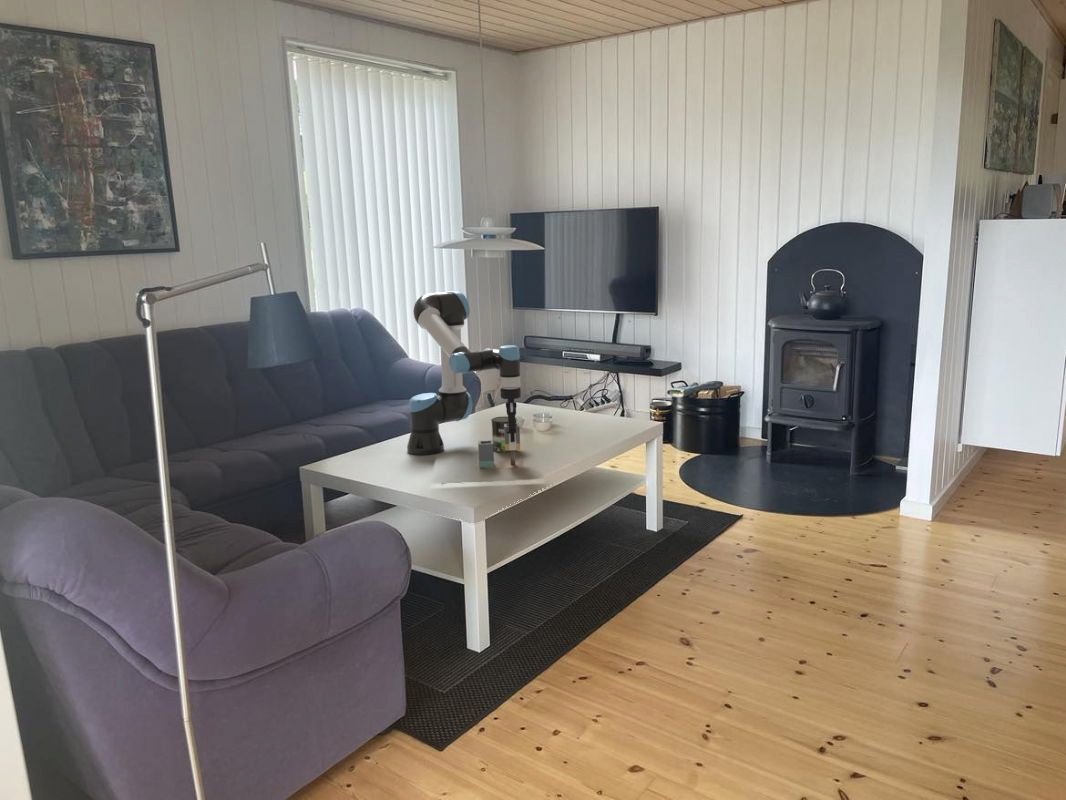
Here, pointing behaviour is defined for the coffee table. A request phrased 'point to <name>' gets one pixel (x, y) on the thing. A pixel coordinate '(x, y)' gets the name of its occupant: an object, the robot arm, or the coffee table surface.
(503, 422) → the coffee can
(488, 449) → the sleeve teal
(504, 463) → the pin board
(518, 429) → the sleeve ochre
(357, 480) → the coffee table surface
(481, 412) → the coffee table surface
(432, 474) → the coffee table surface
